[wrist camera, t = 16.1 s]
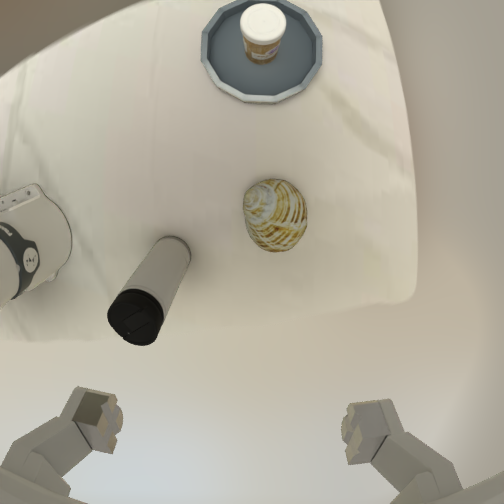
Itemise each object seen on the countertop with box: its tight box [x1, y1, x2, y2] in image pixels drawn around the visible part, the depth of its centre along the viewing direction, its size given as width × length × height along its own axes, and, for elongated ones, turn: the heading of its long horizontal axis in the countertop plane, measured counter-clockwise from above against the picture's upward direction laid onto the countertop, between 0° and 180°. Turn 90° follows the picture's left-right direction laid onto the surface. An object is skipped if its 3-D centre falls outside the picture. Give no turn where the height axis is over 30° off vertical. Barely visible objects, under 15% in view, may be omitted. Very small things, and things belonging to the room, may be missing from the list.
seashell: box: [243, 179, 307, 252], centre depth 44 cm, size 10×10×10 cm
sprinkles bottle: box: [240, 3, 286, 65], centre depth 30 cm, size 5×5×14 cm
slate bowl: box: [201, 0, 322, 104], centre depth 36 cm, size 16×16×4 cm
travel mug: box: [107, 236, 191, 346], centre depth 41 cm, size 6×7×20 cm
